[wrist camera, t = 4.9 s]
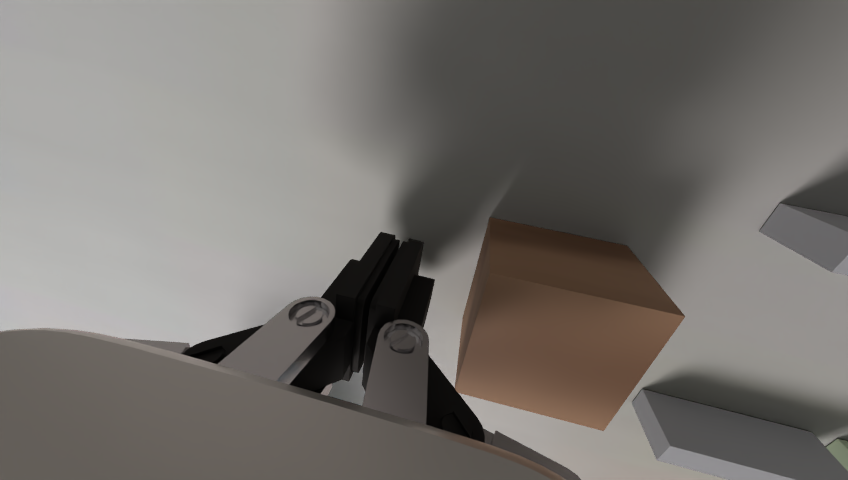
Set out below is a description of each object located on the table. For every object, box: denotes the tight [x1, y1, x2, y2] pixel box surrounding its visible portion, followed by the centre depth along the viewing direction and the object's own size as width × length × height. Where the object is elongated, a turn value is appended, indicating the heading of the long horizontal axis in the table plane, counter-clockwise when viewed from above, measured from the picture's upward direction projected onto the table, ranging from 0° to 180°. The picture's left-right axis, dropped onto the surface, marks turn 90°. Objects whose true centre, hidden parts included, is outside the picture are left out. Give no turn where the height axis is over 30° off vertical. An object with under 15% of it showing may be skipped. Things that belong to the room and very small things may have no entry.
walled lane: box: [632, 203, 848, 480], centre depth 11 cm, size 10×7×2 cm
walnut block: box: [455, 217, 685, 431], centre depth 11 cm, size 5×5×4 cm
